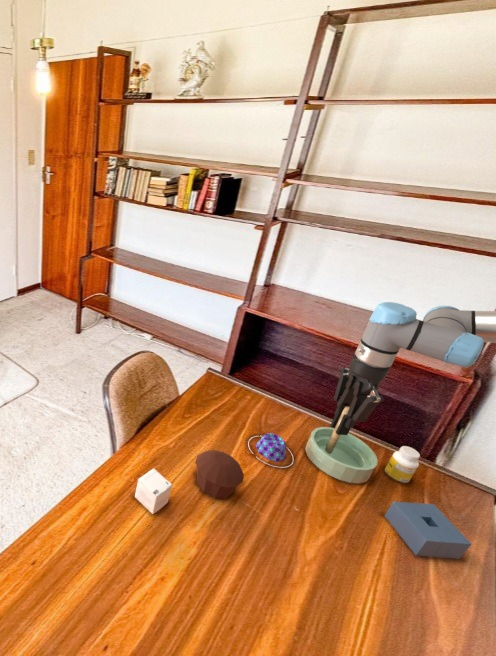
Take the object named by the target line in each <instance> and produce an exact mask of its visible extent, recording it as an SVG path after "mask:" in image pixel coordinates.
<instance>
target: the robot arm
mask: <svg viewBox="0 0 496 656" xmlns="http://www.w3.org/2000/svg"><path fill="white" fill-rule="evenodd" d="M417 316H418V313H417V310H415V309H414V308H412V307H410V306H406V305H404V304H402V303H398V302H393V301H384V302H381V303H377V305H376V306H375V308H374V310H373V312H372V314H371V316H370V318H369V320H368V322H367V325H366V327H365V329H364V331H363V334H362V336H361V338H360V341H359V343H358V345H357V347H356V350H355V352H354V355H353V356H352V358H351V360H350V363H349V365H348V367H341V368H339V369H340V370H339V378H338V382H337V384H336V385H337V386H336V388H335V393H334V396H333V402H336V409H335V411H334V417H333V419H332V421H331V423H330V425H329V427H330V428H335V427H336V425H337V423H338V420H339V418H340V416H341V414H342V412H343V410H344V408H345V407H347V406H348V407H350V408H349V411H348V414H347V415H346V414H344V416H343V418H342V420H341V422H340V424H339V426H338V428H337V430H336V434H337V435H348V433H350V430H351V429H353V427H354V426H355V424H356V423H357V422H359V423H365V422H366V421H367V420H368V418H369V417H370V415H371V414H372V413H373V412H374V410H375V409H376V407H378V405H379V404H380V403H383V402H384V401H385V398H384V397H383V396H381V395H380V394H379V393H378V391H379V385H380V383H381V382H382V381H384V380H385V379H386V377H387V375H388V373H389V371H390V367H392V365H393V364H394V362H395V359H396V358H397V355H398V353H399V351H400V349H404V350H406V351H410V352H412V353H413V352H414V353H416V354H418V355H422V356H425V357H429V358H432V359H435V360H437V361H441V362H444V363H445V364H451V365H454V366H458V367H462V368H469V367H471V366H473V365H474V364H475V363H476V361H477V360H478V359H479V357H480V356H481V355H480V354H481V353H482V351H483V348H484V344H485V343H491V344H496V310H463V309H462V310H461V309H459V308H457V307H455V306H452V305H437V306H434V307H432V308H430V309H429V310H428V311H426V313H425V315H424V316H423V318H422V320H421V319H418V318H417Z"/></svg>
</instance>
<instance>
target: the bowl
mask: <svg viewBox="0 0 496 656" xmlns="http://www.w3.org/2000/svg"><path fill="white" fill-rule="evenodd" d="M334 429H335V428H331V427H330V426H328V427H327V426H320V427H316V428H315V429H313V430H312V431H311V433H310V435H309V437H308V439H307V442H306V444H305V448H304V450H305V452H306V456H307V457H308V459H309V461H311V463H312V464H313V465H315V466H316V467H317V469H319V470H320V471H322V472H323V473H324V474H327V475H328V476H330V477H332V478H335V479H337V480H339V481H342V482H345V483H349V484H363V483H367V482H368V480H369V479H370V478H371V477H372V476H373V474H374V471H375V470H376V468H377V466H378V462H379V460H378V459H379V458H378V457H377V454H376V452H375V451H374V450H373V449H372V448H371V447H370V446H369V445H368V444H367V443H365V442H364V441H363V440H362V439H360V438H358V437H357V436H355V435H353V434H351V433H350V432H348V435H341V436H340V438H339V440H338V442H337V444H336V446H335V448H334V450H333V452H332V453H331V454H328V453H326V451H325V448H326V446H327V444H328V442H329V439H330V437H331V435H332V433H333V431H334Z"/></svg>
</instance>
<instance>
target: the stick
mask: <svg viewBox="0 0 496 656" xmlns="http://www.w3.org/2000/svg"><path fill="white" fill-rule="evenodd" d="M349 408H350V407H348V406H347V407H345V408H344V410H343V412H342V414H341V416H340V418H339V420H338V423H337V425H336V427H335V429H334V431H333V433H332V435H331V437H330V439H329V442H328V444H327V446H326V448H325V451H326V453H328V454H331V453H332V452H333V450H334V448H335V446H336V444H337V442H338V440H339V438H340V436H341V435H337V434H336V430H337V428H338V426H339V424H340V422H341V420H342V418H343V416H344V414H346V415H347V414H348V411H349Z"/></svg>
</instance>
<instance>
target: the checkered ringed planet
mask: <svg viewBox="0 0 496 656" xmlns="http://www.w3.org/2000/svg"><path fill="white" fill-rule="evenodd" d="M256 437H258V435H255V436H252V437H251V438H250V439H249V440H248V442H247V445H248V449H249V450H250V453H253V451H252V450H251V448H250V441H251V440H252V439H254V438H256ZM255 448H256V449H257V453H258V454H259V455H261V456H263V457H264V458H265V459H267V460H269V461H273V462H275V463H280V462H281V461H285V460H286V455H287V454H286V453H287V451H286V449H287V450H288V452H289V453H290V454H291V456H292V462H291V464H290V465H288V466H287V465H286V466H279V468H281V469H283V468H289V467H291V466H292V465H293V464H294V461H295V460H294V459H295V458H294V455H293V453H292V451H291V450H290V449H289V447H287V443H286V441H285V440H284V439H283V437H281V436H280V435H277V434H275V433H272V432H271V433H269V432H267V433H265V434H264V435H262V436H261V438H260V439H259V440H258V441H257V442H256V444H255ZM257 459H258V460H259V461H261V462H262V463H264V464H265V465H269V466H271V467H274V468H277V466H276V465H272V464H269V463H267V462H265V461H263V460H261V459H260V458H258V457H257Z"/></svg>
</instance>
